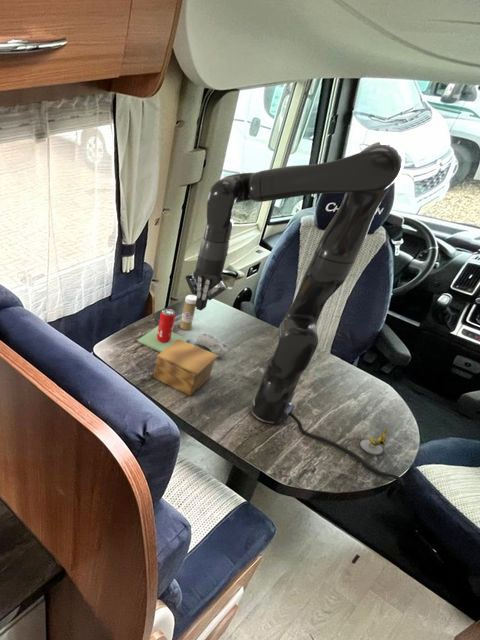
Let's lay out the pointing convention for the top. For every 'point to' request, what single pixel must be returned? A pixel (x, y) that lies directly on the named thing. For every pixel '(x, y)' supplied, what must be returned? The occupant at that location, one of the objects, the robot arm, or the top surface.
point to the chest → (180, 376)
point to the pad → (153, 342)
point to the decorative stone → (212, 344)
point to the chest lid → (187, 356)
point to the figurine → (374, 444)
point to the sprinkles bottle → (188, 312)
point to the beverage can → (165, 325)
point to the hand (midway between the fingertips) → (200, 308)
